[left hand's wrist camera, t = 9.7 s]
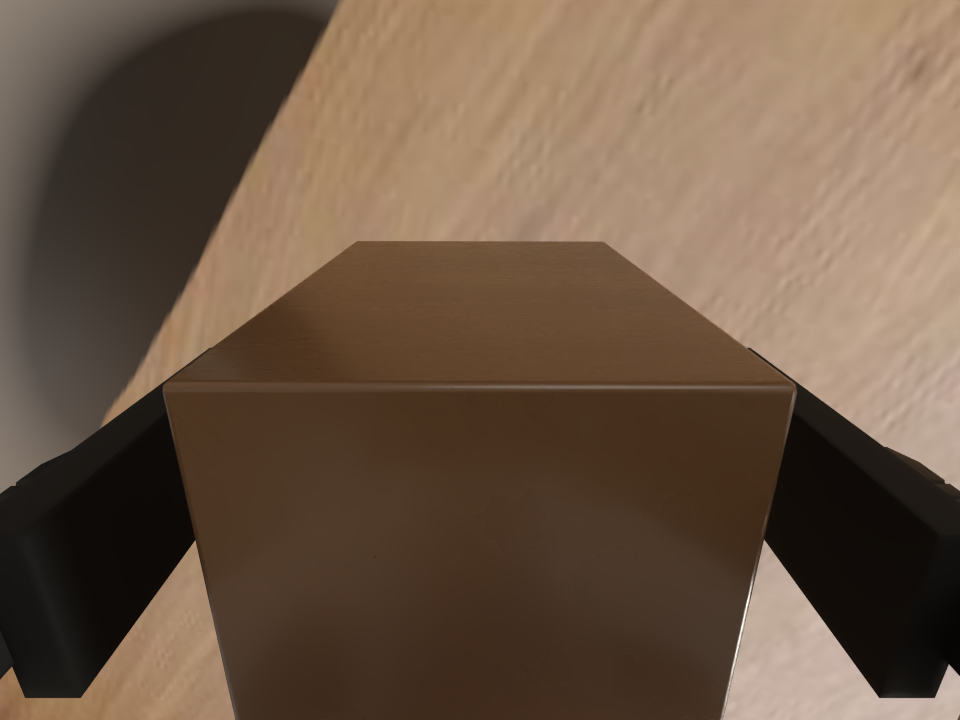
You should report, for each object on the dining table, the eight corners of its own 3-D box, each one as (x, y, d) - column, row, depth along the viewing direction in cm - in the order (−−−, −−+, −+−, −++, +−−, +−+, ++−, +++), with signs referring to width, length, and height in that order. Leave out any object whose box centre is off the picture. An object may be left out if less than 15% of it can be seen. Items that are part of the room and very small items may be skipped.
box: (354, 240, 14) (156, 384, 5) (605, 240, 14) (804, 385, 5) (397, 786, 21) (342, 1209, 13) (560, 787, 21) (613, 1210, 13)
